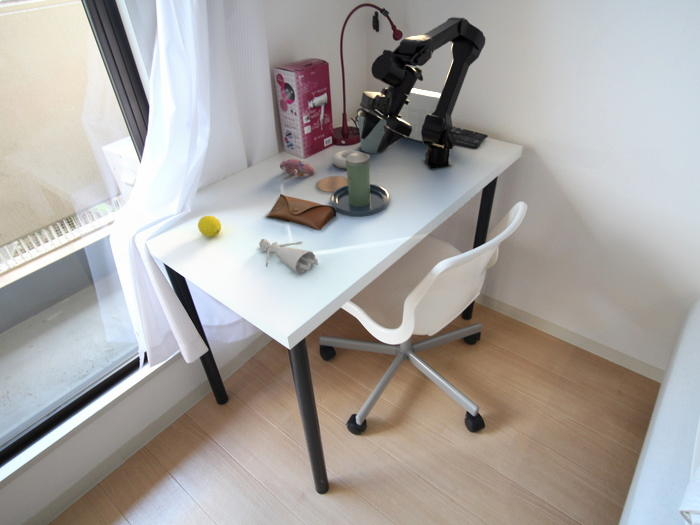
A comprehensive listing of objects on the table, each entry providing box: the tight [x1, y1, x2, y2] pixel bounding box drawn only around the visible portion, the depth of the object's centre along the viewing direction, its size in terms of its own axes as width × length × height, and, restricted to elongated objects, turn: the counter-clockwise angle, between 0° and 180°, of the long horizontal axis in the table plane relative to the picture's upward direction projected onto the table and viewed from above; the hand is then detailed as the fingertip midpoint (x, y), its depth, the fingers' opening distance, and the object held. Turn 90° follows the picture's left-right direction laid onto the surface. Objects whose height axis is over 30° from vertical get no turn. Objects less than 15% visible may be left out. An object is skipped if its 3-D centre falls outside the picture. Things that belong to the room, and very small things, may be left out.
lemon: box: [197, 215, 222, 238], centre depth 109 cm, size 7×5×5 cm
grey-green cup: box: [357, 110, 388, 154], centre depth 146 cm, size 10×10×12 cm
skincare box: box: [399, 88, 453, 143], centre depth 149 cm, size 21×6×16 cm, turn 46°
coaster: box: [316, 175, 348, 193], centre depth 129 cm, size 10×10×1 cm
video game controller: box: [279, 158, 315, 177], centre depth 134 cm, size 10×5×7 cm, turn 68°
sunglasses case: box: [266, 193, 337, 231], centre depth 115 cm, size 18×7×7 cm, turn 62°
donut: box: [332, 149, 361, 170], centre depth 140 cm, size 10×3×10 cm
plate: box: [329, 183, 390, 218], centre depth 119 cm, size 16×16×2 cm
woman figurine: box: [258, 238, 319, 275], centre depth 100 cm, size 12×4×18 cm
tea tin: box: [346, 152, 371, 207], centre depth 116 cm, size 6×6×13 cm
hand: (370, 145), depth 117 cm, fingers open, 9 cm apart
